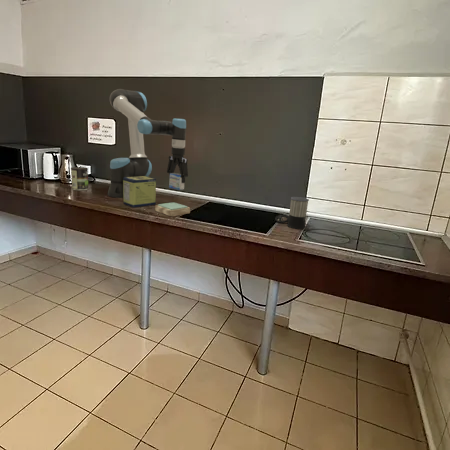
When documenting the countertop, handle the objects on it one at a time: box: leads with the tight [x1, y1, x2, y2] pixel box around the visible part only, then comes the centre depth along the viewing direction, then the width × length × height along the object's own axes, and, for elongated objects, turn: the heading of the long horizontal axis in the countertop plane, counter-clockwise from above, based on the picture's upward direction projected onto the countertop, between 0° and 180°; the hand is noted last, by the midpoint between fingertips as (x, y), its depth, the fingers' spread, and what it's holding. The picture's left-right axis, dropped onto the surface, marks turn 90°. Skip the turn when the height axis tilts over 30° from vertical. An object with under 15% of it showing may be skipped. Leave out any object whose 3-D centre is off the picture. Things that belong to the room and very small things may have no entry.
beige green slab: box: [154, 204, 191, 217], centre depth 181 cm, size 14×13×3 cm
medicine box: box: [168, 172, 184, 191], centre depth 192 cm, size 8×4×9 cm, turn 62°
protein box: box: [123, 176, 157, 208], centre depth 191 cm, size 10×16×16 cm
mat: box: [157, 201, 189, 210], centre depth 181 cm, size 12×11×1 cm
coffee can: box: [70, 166, 90, 191], centre depth 220 cm, size 10×10×14 cm
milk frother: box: [275, 196, 310, 230], centre depth 172 cm, size 14×16×15 cm
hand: (176, 187), depth 193 cm, fingers closed on medicine box, 9 cm apart
